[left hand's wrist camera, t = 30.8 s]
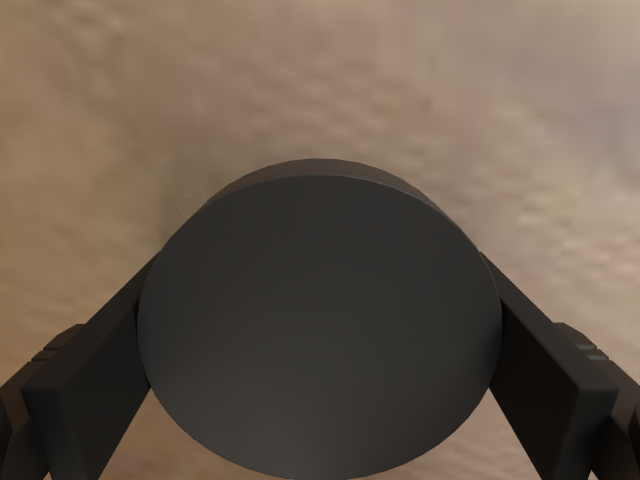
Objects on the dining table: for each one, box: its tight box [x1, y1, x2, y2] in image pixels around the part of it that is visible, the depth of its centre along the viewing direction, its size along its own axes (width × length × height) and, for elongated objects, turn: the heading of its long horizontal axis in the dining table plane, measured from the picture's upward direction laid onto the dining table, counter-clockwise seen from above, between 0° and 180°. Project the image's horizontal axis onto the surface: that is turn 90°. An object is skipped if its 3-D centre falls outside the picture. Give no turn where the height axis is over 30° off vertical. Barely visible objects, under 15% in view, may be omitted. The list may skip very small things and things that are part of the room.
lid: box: [137, 159, 503, 480], centre depth 11 cm, size 10×10×2 cm
